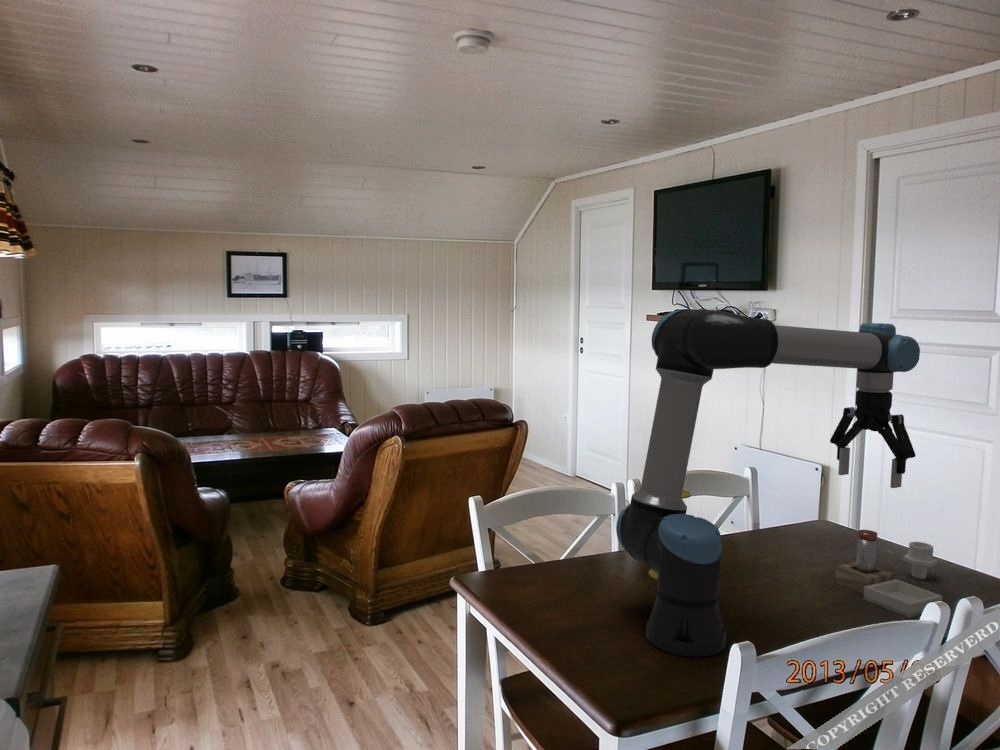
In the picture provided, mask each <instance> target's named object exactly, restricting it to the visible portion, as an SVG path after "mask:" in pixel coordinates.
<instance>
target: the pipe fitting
mask: <svg viewBox="0 0 1000 750" xmlns="http://www.w3.org/2000/svg"><path fill="white" fill-rule="evenodd" d="M907 552H908V553H907V554H904V555H903V557H902V558H903V560H904V561H905V562H908V563H910V564H911V577H912V576H913V578H914V577H915V578H914V579H918V578H919V579H918V580H926V579H927V576H928V575H927V574H928V567H933V566H935V565H937V563H938V559H936V558H934V557H933V556H934V546H933V545H931V544H930V543H926V542H922V541H911V542H909V543H908V551H907ZM925 578H926V579H925Z"/></svg>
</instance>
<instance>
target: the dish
mask: <svg viewBox="0 0 1000 750" xmlns="http://www.w3.org/2000/svg"><path fill="white" fill-rule="evenodd" d="M943 599H944V597H943V595H940V594H938V593H935V592H932V591H930V590H926V589H925V588H922V587H919V586H916V585H913V584H911V583H907V582H906V581H902V580H900V579H896V578H895V580H891V581H886V582H882V583H878V584H873V585H869V586H864V594H863V600H864V601H866V602H869V603H871V604H873V605H875V606H879V607H880V608H883V609H886V610H889V611H891V612H893V613H895V614H897V615H900V616H903V617H905V618H907V619H911V618H916V617H919V616H921V615H920V614H921V612H922V610H923V608H924V607H925V605H926V604H927V603H929V602H933V601H942V602H943Z"/></svg>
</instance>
